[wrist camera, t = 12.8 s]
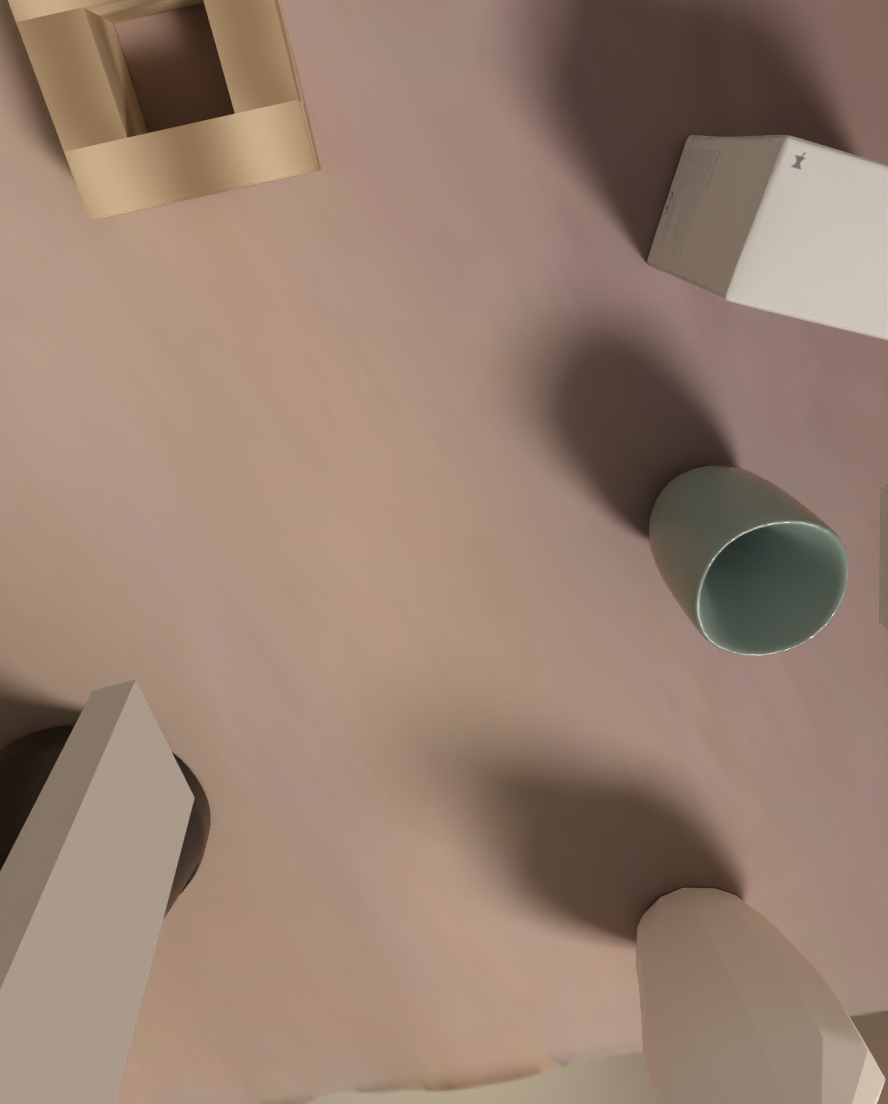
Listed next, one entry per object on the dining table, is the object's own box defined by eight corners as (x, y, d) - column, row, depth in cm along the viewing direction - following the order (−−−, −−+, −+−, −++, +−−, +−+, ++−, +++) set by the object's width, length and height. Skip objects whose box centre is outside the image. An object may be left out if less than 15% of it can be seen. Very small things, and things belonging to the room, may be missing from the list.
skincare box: (641, 271, 41) (722, 303, 32) (685, 134, 38) (787, 124, 29) (821, 315, 43) (948, 358, 33) (875, 187, 40) (1029, 195, 31)
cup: (640, 448, 45) (706, 519, 36) (771, 446, 46) (869, 515, 37) (625, 570, 49) (682, 661, 40) (747, 566, 49) (831, 655, 40)
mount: (116, 215, 38) (89, 220, 34) (26, -38, 33) (-16, -63, 30) (321, 169, 38) (315, 170, 34) (258, -91, 33) (244, -122, 30)
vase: (584, 972, 65) (696, 1396, 43) (641, 845, 59) (806, 1260, 37) (741, 985, 67) (926, 1393, 45) (811, 864, 62) (1063, 1264, 39)
